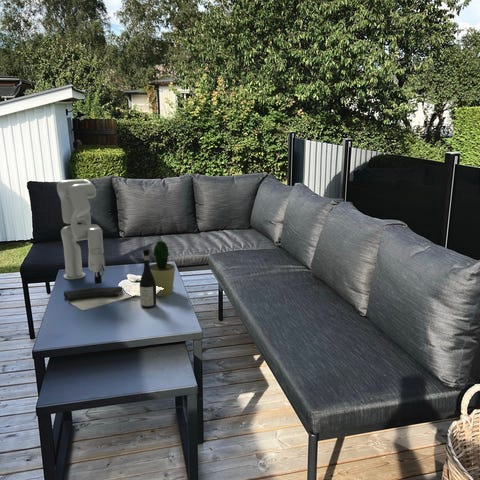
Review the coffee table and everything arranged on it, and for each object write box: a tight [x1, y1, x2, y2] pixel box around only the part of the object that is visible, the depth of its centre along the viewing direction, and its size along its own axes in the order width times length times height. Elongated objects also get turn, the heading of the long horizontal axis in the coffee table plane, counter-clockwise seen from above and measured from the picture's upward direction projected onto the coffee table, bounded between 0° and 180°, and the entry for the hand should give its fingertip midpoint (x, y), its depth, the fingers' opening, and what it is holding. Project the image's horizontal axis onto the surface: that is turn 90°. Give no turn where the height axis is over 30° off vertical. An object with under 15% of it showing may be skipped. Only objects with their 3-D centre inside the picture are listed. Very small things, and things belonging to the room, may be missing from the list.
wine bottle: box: [139, 248, 157, 309], centre depth 244 cm, size 8×8×30 cm
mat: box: [66, 289, 133, 312], centre depth 258 cm, size 18×33×1 cm, turn 135°
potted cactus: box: [149, 240, 176, 297], centre depth 264 cm, size 15×15×30 cm
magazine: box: [63, 286, 123, 302], centre depth 258 cm, size 17×3×30 cm
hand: (98, 283), depth 259 cm, fingers closed
